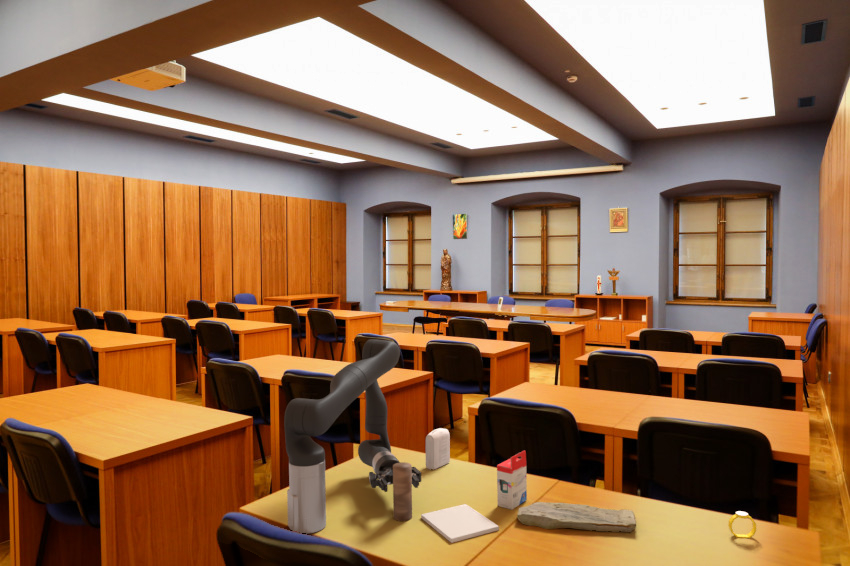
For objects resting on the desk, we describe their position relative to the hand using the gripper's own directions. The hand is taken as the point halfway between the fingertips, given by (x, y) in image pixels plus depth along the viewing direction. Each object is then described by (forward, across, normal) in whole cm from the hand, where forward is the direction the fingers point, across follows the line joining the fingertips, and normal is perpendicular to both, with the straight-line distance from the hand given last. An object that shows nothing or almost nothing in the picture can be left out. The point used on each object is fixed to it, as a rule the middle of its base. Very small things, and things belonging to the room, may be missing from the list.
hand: (401, 486), depth 155 cm
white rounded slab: (-34, +22, +8) cm, 42 cm away
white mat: (+10, +13, +8) cm, 18 cm away
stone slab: (+18, +42, +9) cm, 47 cm away
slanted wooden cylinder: (+1, 0, +8) cm, 8 cm away
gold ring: (+40, +76, +8) cm, 86 cm away
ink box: (+2, +32, +8) cm, 33 cm away
